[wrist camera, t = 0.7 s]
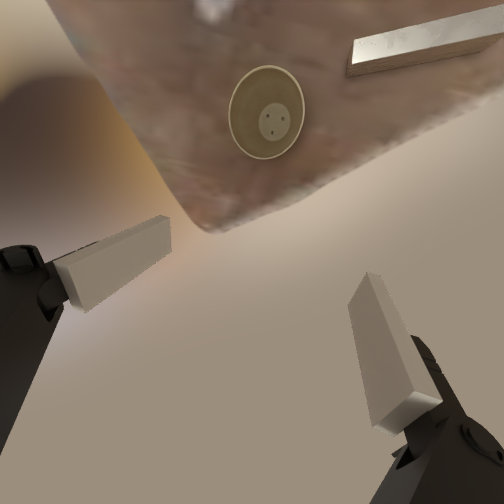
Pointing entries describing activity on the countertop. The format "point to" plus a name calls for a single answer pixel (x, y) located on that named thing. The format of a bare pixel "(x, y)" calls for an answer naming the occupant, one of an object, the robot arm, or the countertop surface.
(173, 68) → the countertop surface
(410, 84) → the countertop surface
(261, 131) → the flower pot
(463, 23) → the backstop rail
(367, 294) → the robot arm
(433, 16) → the countertop surface
